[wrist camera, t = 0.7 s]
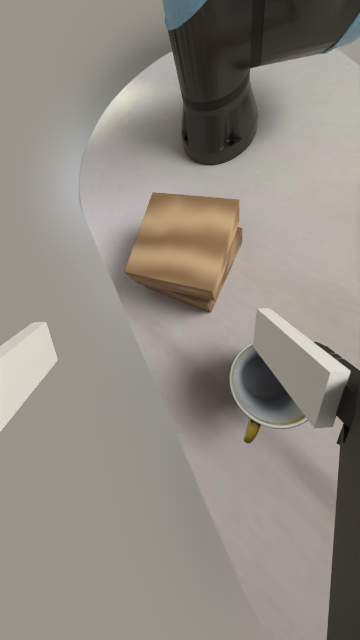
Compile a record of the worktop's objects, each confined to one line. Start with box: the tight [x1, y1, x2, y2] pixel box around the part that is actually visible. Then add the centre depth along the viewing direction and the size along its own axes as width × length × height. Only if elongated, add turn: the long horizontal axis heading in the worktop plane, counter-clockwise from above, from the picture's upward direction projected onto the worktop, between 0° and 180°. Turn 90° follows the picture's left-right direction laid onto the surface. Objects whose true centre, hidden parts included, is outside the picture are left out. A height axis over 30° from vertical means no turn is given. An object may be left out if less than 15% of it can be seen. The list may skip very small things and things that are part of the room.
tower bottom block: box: [144, 227, 242, 312], centre depth 39 cm, size 14×14×5 cm
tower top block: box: [124, 192, 239, 301], centre depth 35 cm, size 14×14×5 cm
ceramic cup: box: [229, 343, 308, 443], centre depth 29 cm, size 13×10×10 cm
